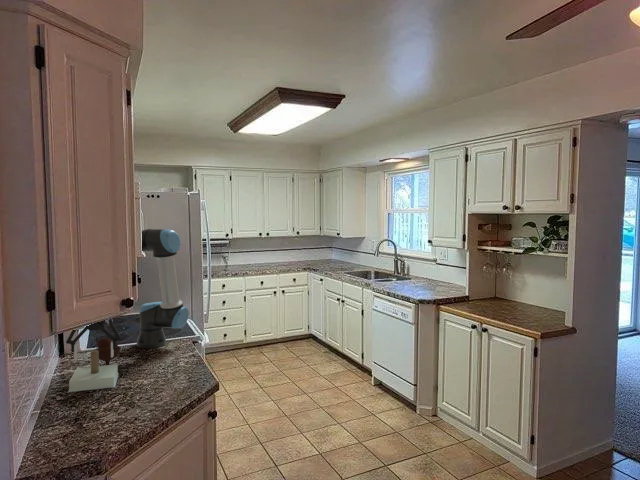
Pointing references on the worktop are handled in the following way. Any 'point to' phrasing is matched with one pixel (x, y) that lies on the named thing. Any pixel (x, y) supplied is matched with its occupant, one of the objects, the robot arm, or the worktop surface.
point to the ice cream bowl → (106, 350)
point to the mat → (99, 388)
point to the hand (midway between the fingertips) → (94, 358)
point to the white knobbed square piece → (93, 375)
